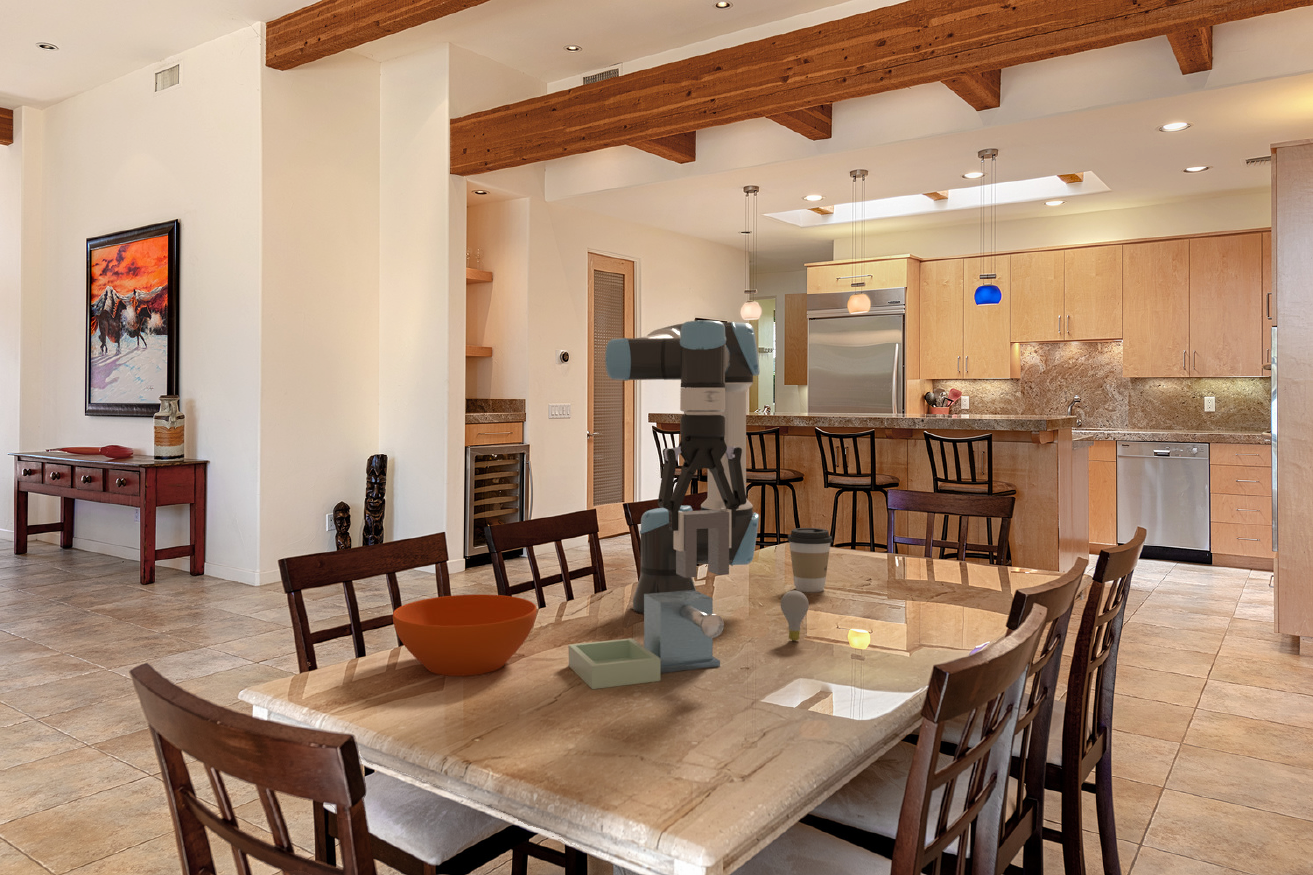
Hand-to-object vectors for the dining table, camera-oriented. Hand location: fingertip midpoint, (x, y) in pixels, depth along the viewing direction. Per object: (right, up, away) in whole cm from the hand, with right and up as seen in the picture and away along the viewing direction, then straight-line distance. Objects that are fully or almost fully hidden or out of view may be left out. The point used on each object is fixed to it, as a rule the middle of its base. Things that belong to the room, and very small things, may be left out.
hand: (702, 548), depth 150 cm
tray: (-15, -22, +4) cm, 27 cm away
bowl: (-42, -22, +9) cm, 48 cm away
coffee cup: (+31, -20, +75) cm, 83 cm away
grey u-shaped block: (0, -4, 0) cm, 4 cm away
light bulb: (+19, -22, +25) cm, 38 cm away
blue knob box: (-2, -22, +6) cm, 23 cm away
